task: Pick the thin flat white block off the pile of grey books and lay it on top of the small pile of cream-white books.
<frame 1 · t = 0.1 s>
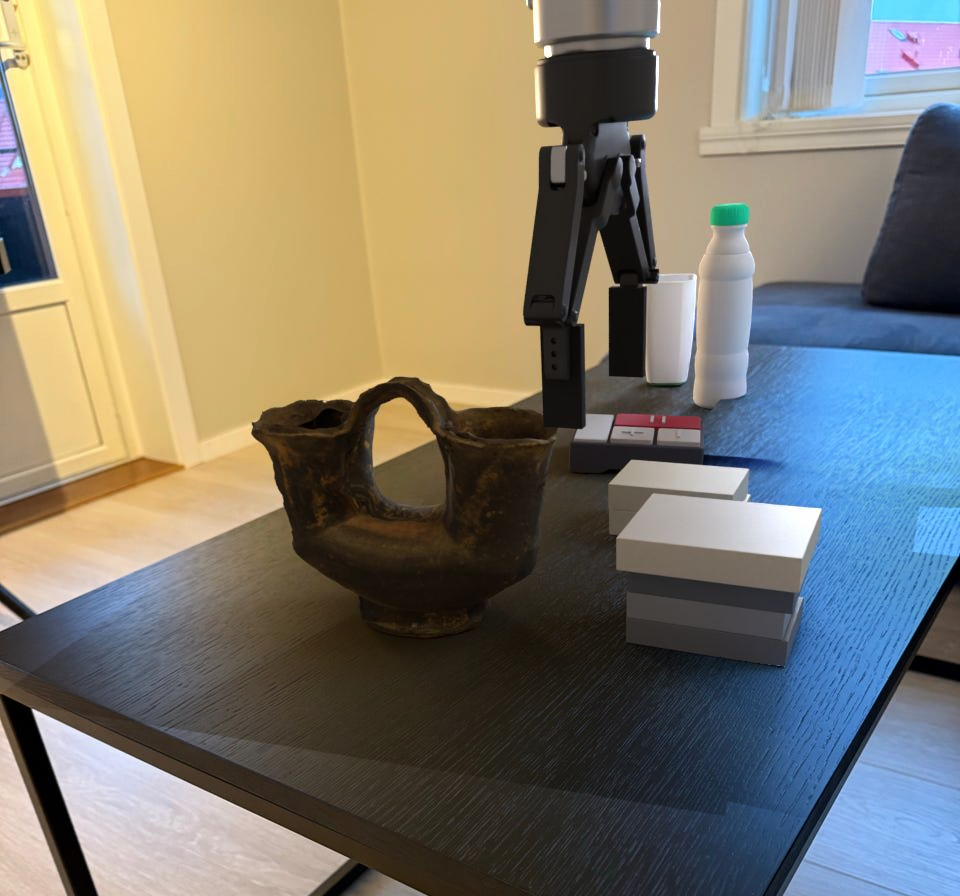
hand: (598, 399, 67), 18 cm above the table, tool pointing down, fingers open, 13 cm apart
water bottle: (718, 404, 128), on the table
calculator: (637, 460, 110), on the table
grey books: (714, 632, 73), on the table
flat white block: (718, 555, 70), point 7 cm above the table, touching grey books
white books: (679, 526, 92), on the table
cup: (667, 383, 140), on the table
pottery vessel: (422, 613, 80), on the table
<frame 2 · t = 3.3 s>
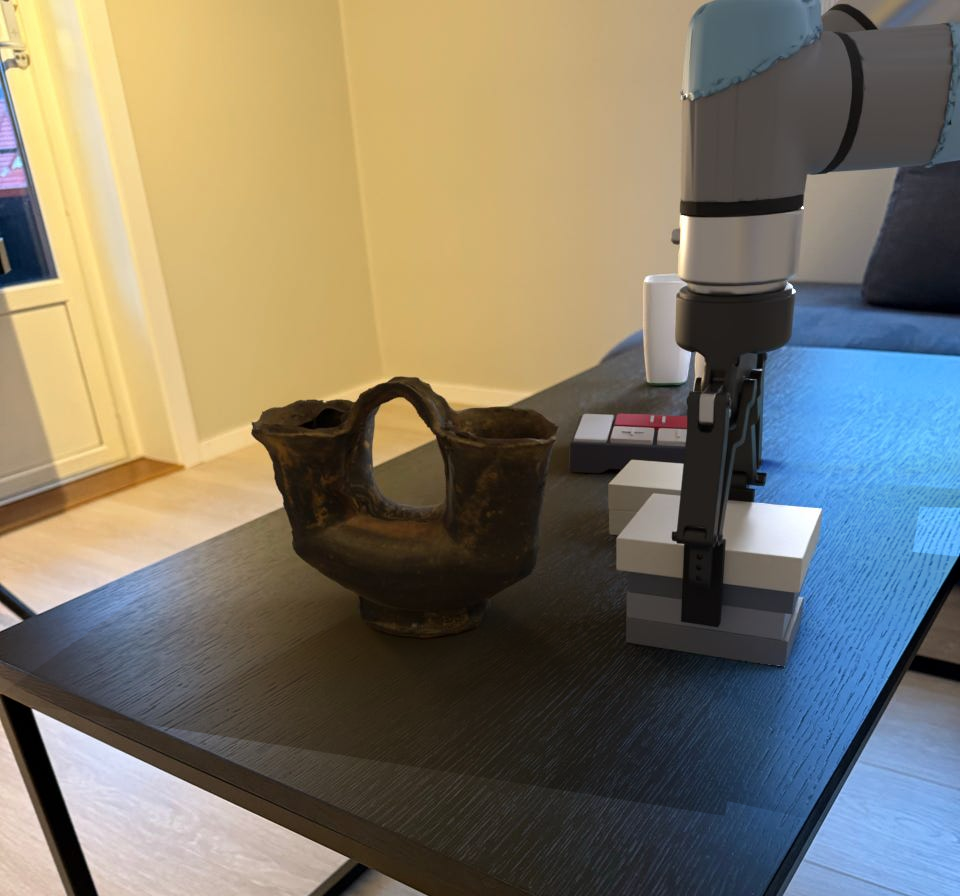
hand: (716, 592, 71), 4 cm above the table, tool pointing down, fingers closed on flat white block, 9 cm apart
flat white block: (719, 555, 70), point 7 cm above the table, touching grey books, gripper
everything else where it was.
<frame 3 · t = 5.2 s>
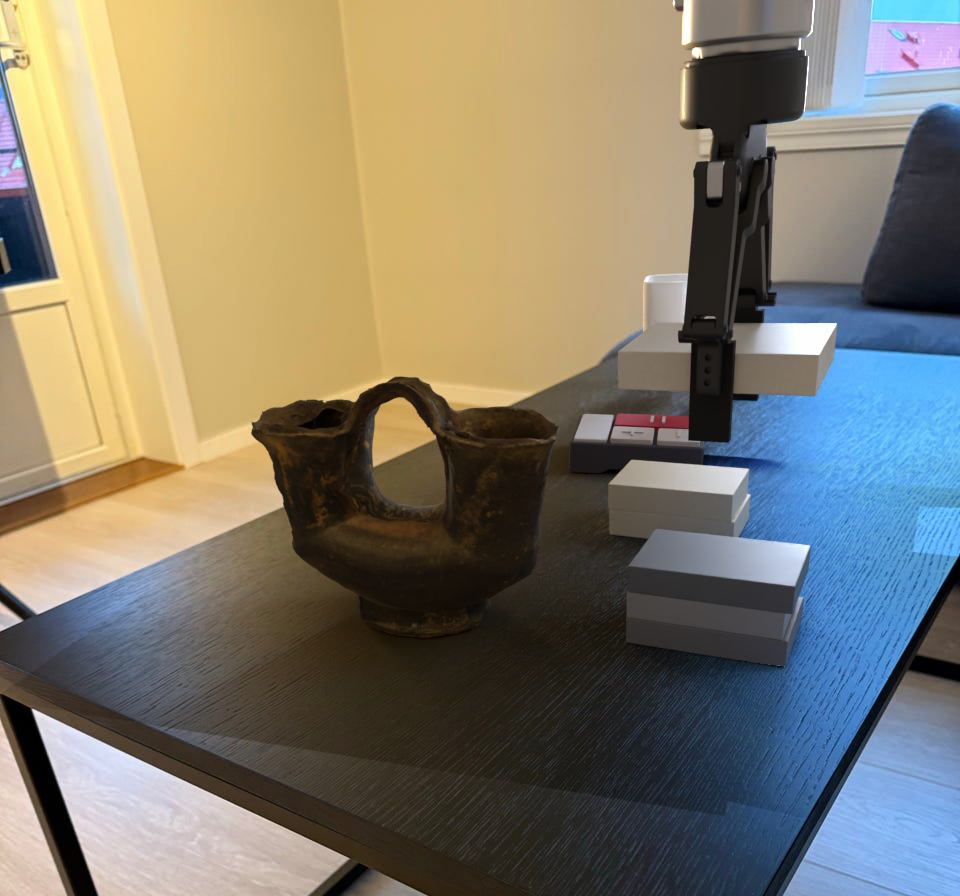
hand: (725, 418, 67), 16 cm above the table, tool pointing down, fingers closed on flat white block, 9 cm apart
flat white block: (727, 375, 65), point 19 cm above the table, touching gripper
everything else where it was.
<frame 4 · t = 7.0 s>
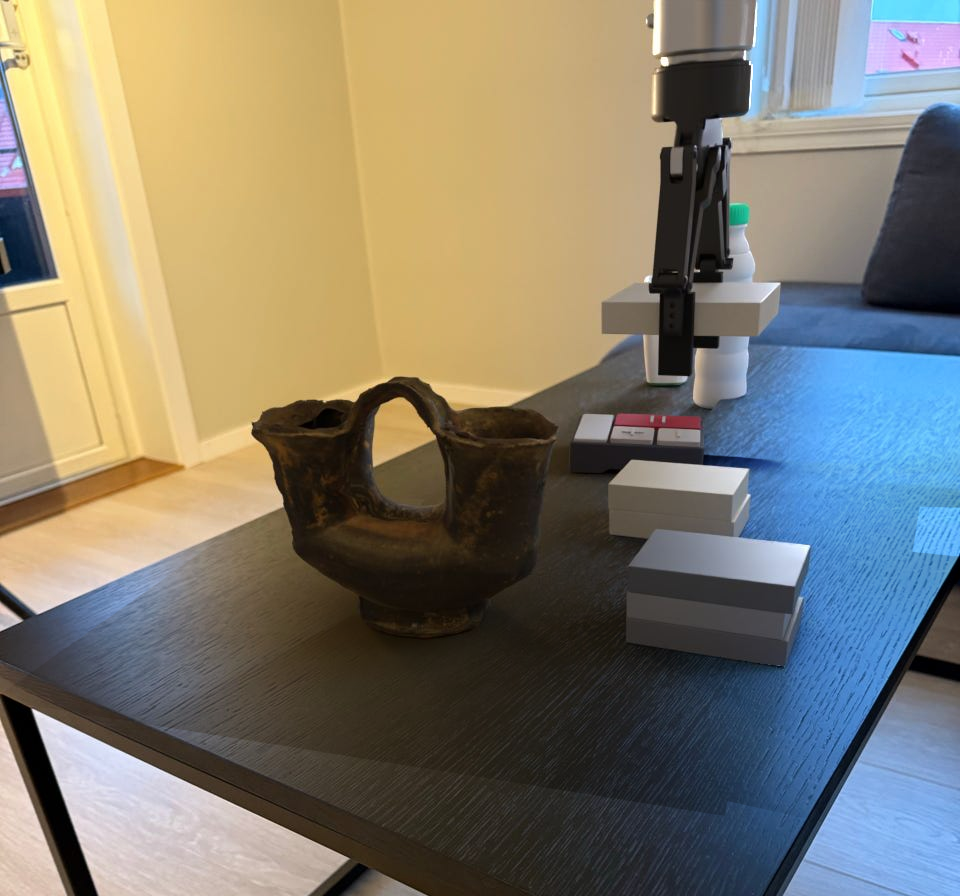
hand: (689, 360, 81), 17 cm above the table, tool pointing down, fingers closed on flat white block, 9 cm apart
flat white block: (691, 323, 80), point 20 cm above the table, touching gripper
everything else where it was.
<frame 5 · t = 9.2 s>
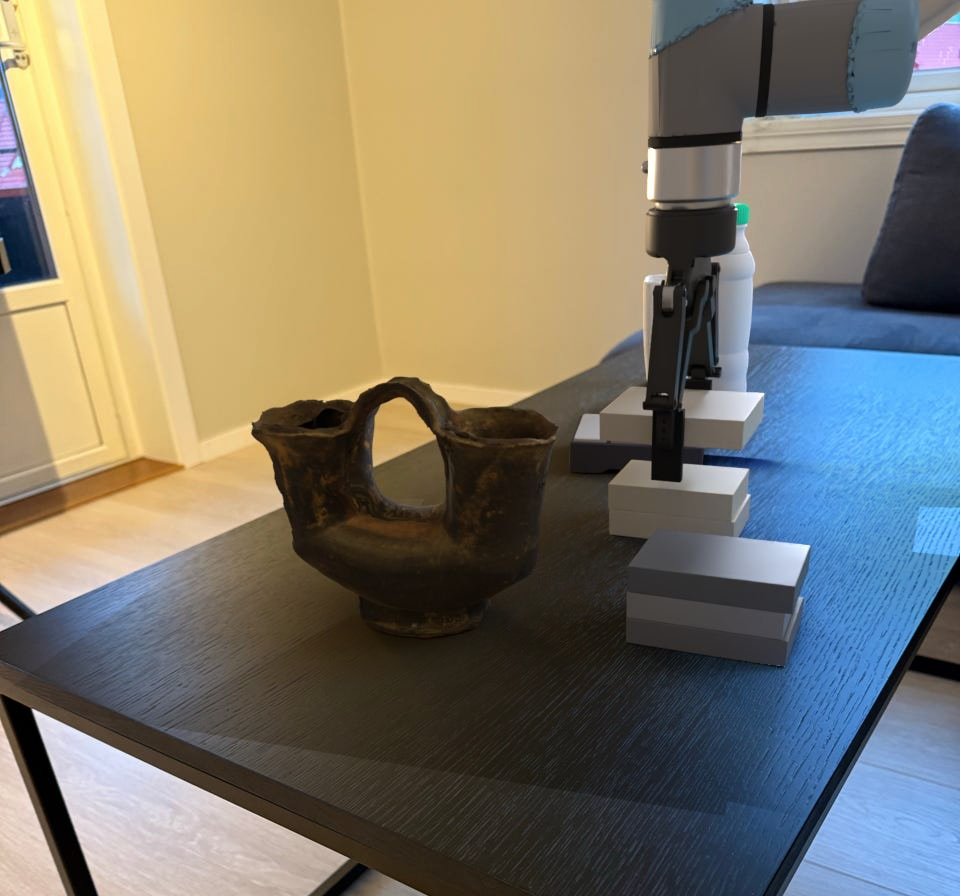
hand: (681, 462, 88), 7 cm above the table, tool pointing down, fingers closed on flat white block, 9 cm apart
flat white block: (682, 430, 87), point 10 cm above the table, touching gripper
everything else where it was.
when the fingers open (2 cm above the table, at t = 10.9 s): flat white block stays where it is, resting on white books.
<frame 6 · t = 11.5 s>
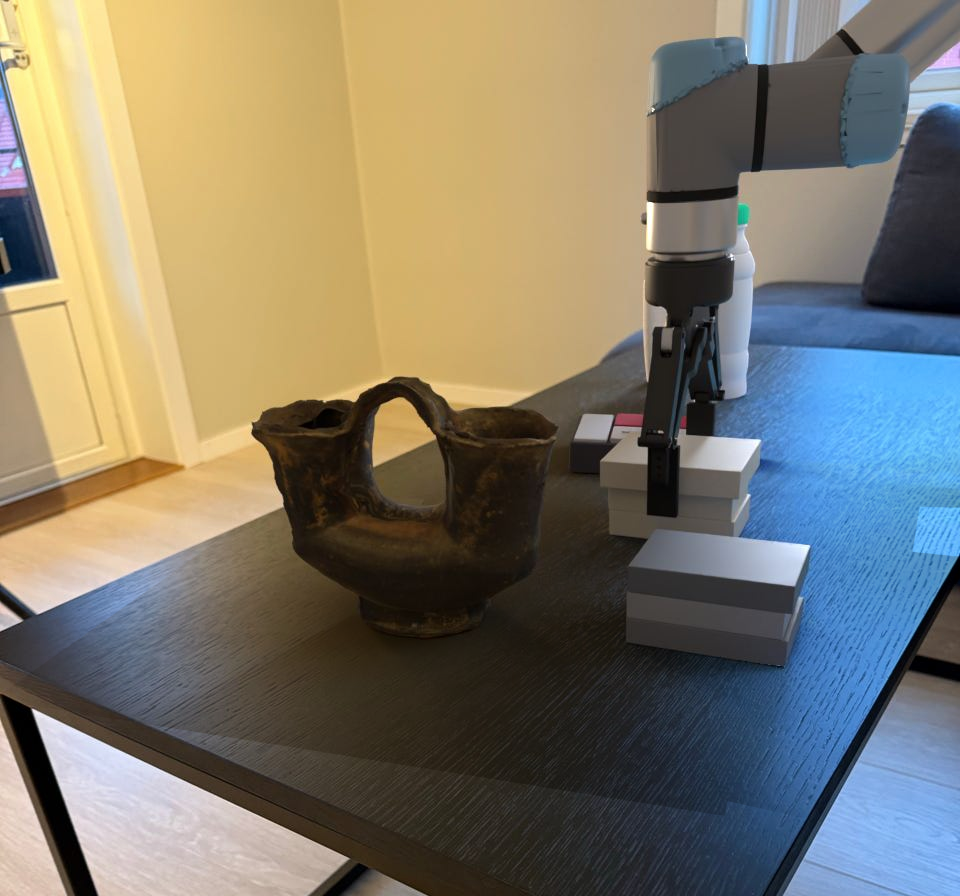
hand: (681, 490, 90), 4 cm above the table, tool pointing down, fingers open, 13 cm apart
flat white block: (680, 476, 89), point 5 cm above the table, touching white books
everything else where it was.
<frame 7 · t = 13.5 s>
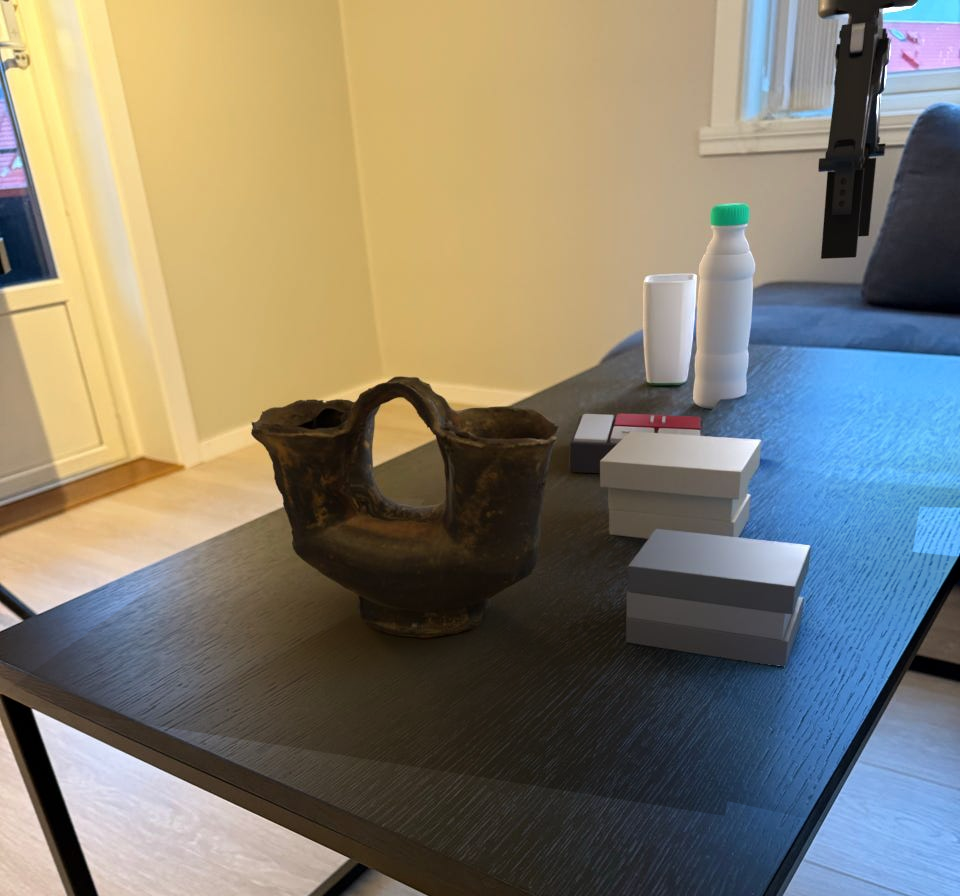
hand: (846, 246, 83), 24 cm above the table, tool pointing down, fingers open, 13 cm apart
nothing on the table moved.
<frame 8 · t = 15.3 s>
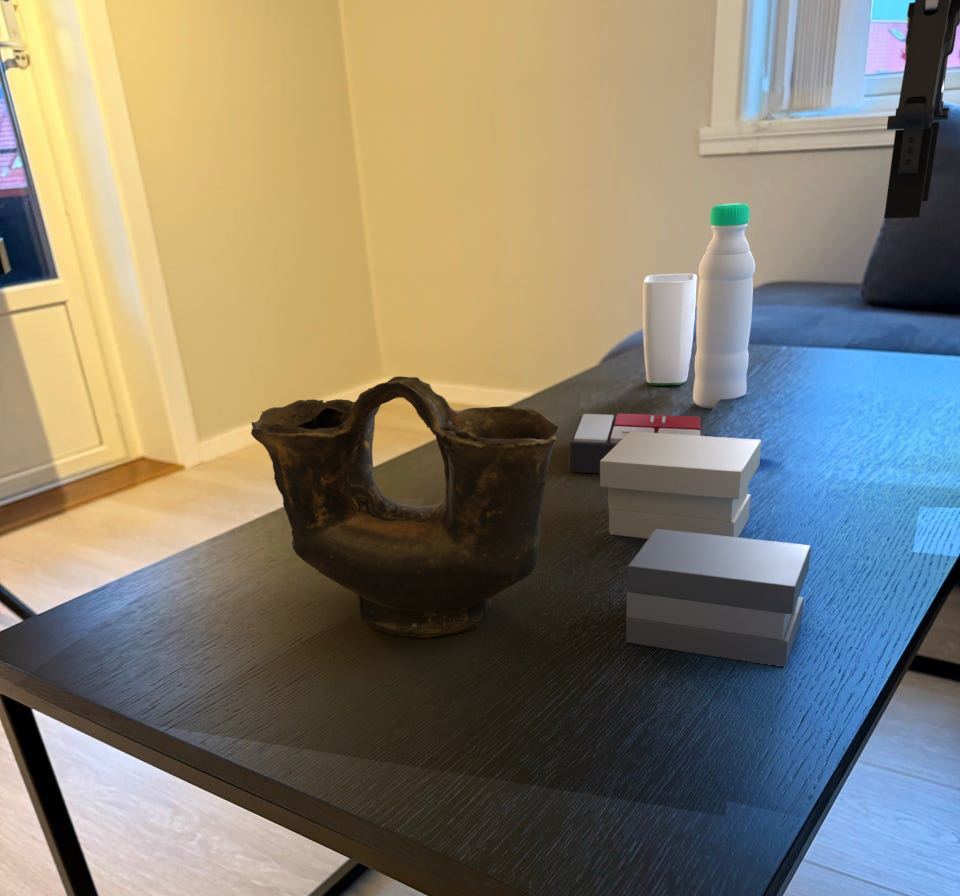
hand: (907, 209, 83), 27 cm above the table, tool pointing down, fingers open, 13 cm apart
nothing on the table moved.
at the end: flat white block 0.1 cm off-centre on the white books, point 5.2 cm above the white books's base; flat white block tilted 0°; the gripper is holding nothing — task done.
